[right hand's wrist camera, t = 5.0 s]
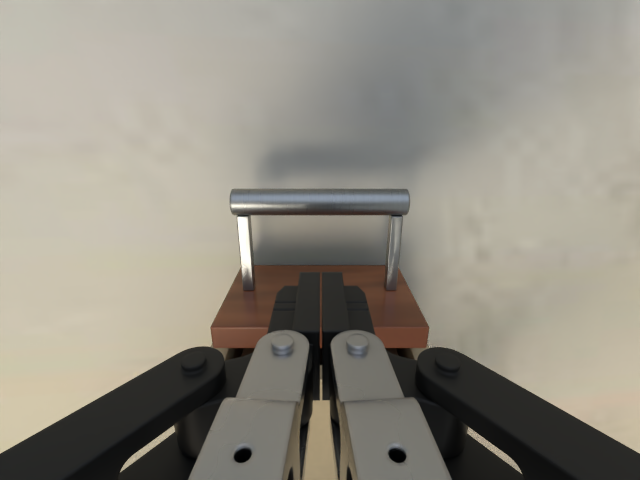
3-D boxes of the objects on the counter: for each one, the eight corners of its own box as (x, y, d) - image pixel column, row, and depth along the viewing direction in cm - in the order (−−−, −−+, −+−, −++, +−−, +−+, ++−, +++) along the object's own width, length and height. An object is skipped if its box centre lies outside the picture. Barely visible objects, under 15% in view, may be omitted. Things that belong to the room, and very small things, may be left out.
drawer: (234, 177, 20) (194, 208, 14) (405, 178, 20) (445, 208, 14) (256, 435, 27) (236, 535, 21) (382, 435, 27) (402, 534, 21)
